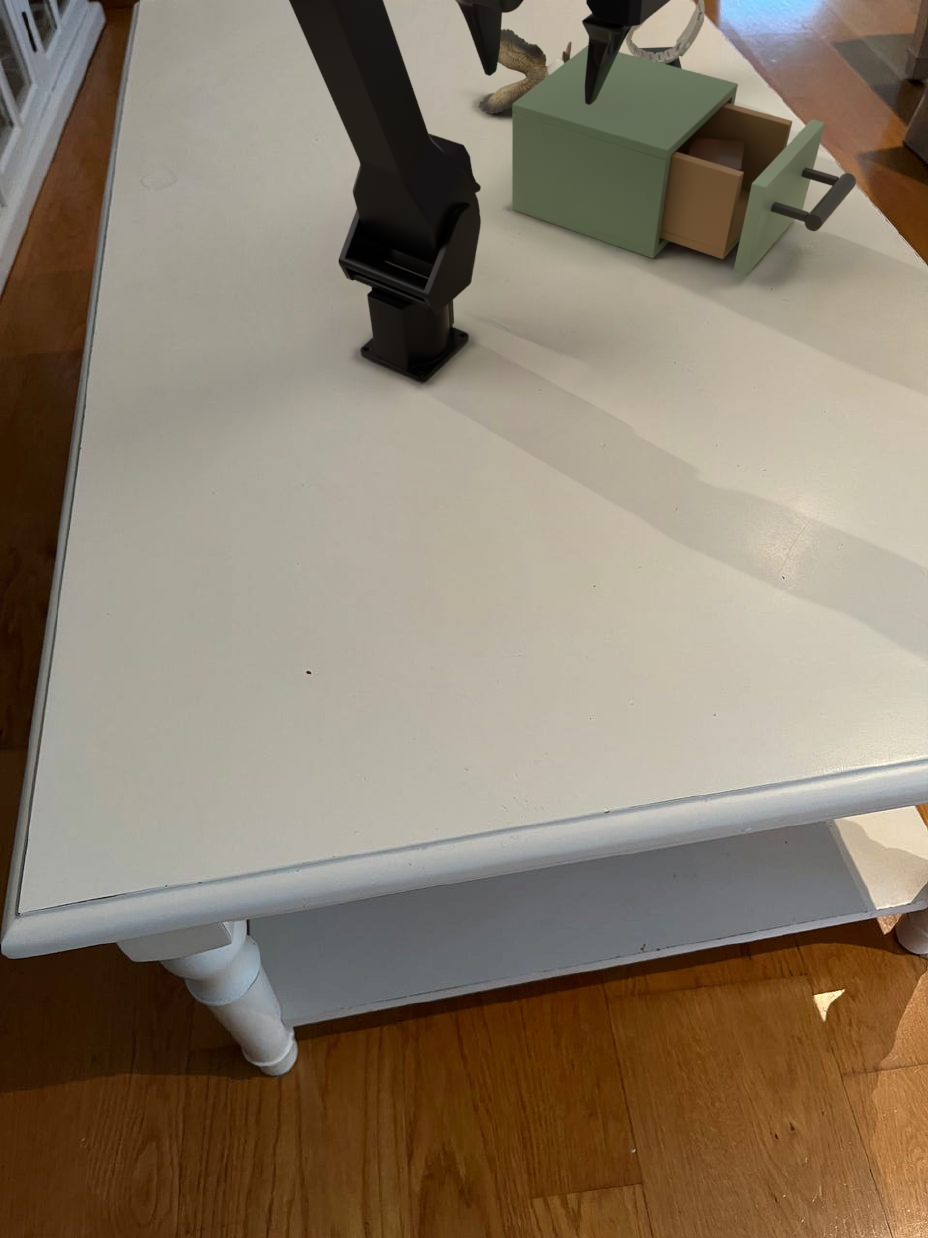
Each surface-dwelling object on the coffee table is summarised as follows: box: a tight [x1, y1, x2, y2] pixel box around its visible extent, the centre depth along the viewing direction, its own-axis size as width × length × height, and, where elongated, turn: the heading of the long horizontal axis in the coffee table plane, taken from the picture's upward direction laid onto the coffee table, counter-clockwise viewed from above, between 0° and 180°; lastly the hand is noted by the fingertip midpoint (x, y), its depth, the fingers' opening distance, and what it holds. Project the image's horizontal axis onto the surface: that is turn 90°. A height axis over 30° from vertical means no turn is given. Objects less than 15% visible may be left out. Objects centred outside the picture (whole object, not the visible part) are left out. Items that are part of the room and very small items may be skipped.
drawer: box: [660, 103, 857, 277], centre depth 81 cm, size 18×11×8 cm, turn 55°
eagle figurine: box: [478, 28, 573, 114], centre depth 98 cm, size 8×7×9 cm
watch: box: [624, 0, 706, 69], centre depth 96 cm, size 6×8×11 cm
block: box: [688, 137, 745, 171], centre depth 83 cm, size 4×4×4 cm
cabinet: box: [511, 44, 739, 259], centre depth 85 cm, size 15×13×10 cm
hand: (539, 87), depth 76 cm, fingers open, 9 cm apart
